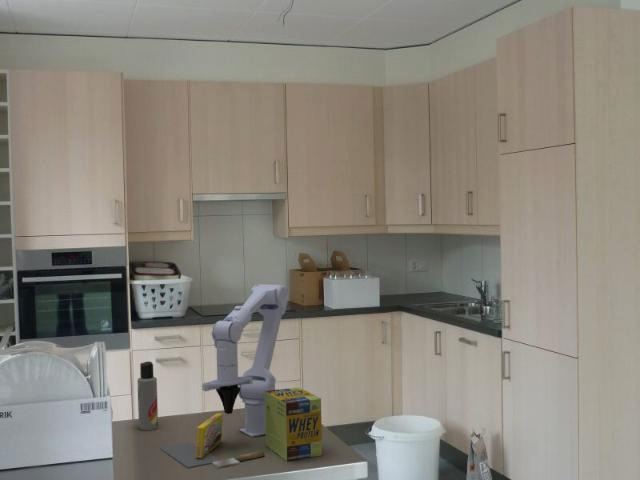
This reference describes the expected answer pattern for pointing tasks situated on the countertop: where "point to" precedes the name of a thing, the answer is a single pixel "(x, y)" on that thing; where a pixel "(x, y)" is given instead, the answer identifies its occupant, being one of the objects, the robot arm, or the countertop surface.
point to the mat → (187, 455)
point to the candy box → (209, 435)
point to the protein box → (293, 423)
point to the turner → (237, 459)
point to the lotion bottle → (147, 398)
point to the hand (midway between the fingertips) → (228, 413)
